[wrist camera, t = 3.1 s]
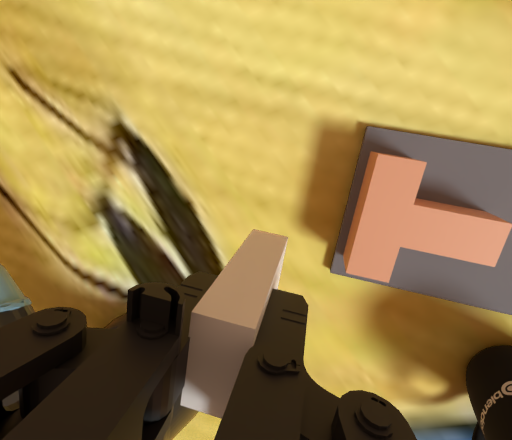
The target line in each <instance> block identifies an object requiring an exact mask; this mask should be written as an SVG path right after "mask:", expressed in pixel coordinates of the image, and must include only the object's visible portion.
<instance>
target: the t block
mask: <svg viewBox="0 0 512 440" xmlns="http://www.w3.org/2000/svg"><path fill="white" fill-rule="evenodd" d="M426 164H427V162H424V161H420V160H416V159H412V158H406V157H401V156H395V155H389V154H383V153H378V152H372V151H371V152H370V155H369V159H368V163H367V167H366V171H365V174H364V178H363V182H362V186H361V190H360V193H359V197H358V201H357V205H356V208H355V212H354V216H353V220H352V224H351V227H350V231H349V235H348V239H347V243H346V246H345V250H344V254H343V259H344V265H345V271H346V273H348V274H352V275H357V276H361V277H365V278H369V279H374V280H378V281H382V282H387V283H389V280H390V277H391V274H392V271H393V268H394V265H395V261H396V258H397V255H398V252H399V249H400V247H403V248H408V249H413V250H417V251H422V252H427V253H431V254H436V255H441V256H445V257H450V258H454V259H459V260H464V261H468V262H473V263H478V264H482V265H487V266H492V267H495V266H496V263H497V261H498V258H499V256H500V254H501V251H502V249H503V247H504V244H505V242H506V239H507V237H508V235H509V232H510V230H511V228H512V223H509V222H507V221H505V220H503V219H501V218H499V217H497V216H495V215H492V214H490V213H488V212H486V211H480V210H475V209H470V208H465V207H460V206H454V205H449V204H444V203H439V202H434V201H428V200H423V199H418V198H416V195H417V192H418V189H419V186H420V183H421V180H422V177H423V173H424V170H425V167H426Z"/></svg>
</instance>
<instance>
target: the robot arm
mask: <svg viewBox="0 0 512 440" xmlns="http://www.w3.org/2000/svg"><path fill="white" fill-rule="evenodd" d="M287 240H288V237H286V236H281V235H277V234H272V233H268V232H264V231H259V230H255V229H253V230H252V232H251V233H250V234H249V236H248V237H247V238H246V240H245V241H244V242H243V244H242V245H241V246H240V248H239V249H238V250H237V252H236V253H235V254H234V256H233V257H232V258H231V260H230V261H229V262H228V264H227V265H226V266H225V268H224V269H223V270H222V272H221V273H220V274H219V276H217V275H213V274H209V273H205V272H201V271H200V272H197V273H195V274H192V275H190V276H188V277H187V278H186V279H185V280H184V281H183V282H182V283H181V285H179V286H178V287H176V286H173V285H171V284H168V283H161V282H150V283H143V284H139V285H136V286H134V287H132V288H130V289H129V290H128V300H127V314H124V315H122V316H120V317H118V318H116V319H115V320H113V321H112V322H111V323H110V324H109V325H108V326H106V327H105V328H104V329H103V328H87V322H86V316H85V315H84V314H83V313H82V312H81V311H80V310H76V309H73V308H67V307H56V308H49V309H44V310H41V311H38V312H35V311H34V310H33V308H32V306H31V305H30V304H31V303H32V302H31V301H30V298H28V297H25V296H24V294H23V293H22V292H21V290H20V289H19V287H18V286H17V284H16V283H15V281H14V280H13V278H12V277H11V276H10V274H9V273H8V271H7V270H6V269H5V267H4V266H3V265H1V264H0V440H172V439H173V438H174V437H175V436H176V435H177V434H178V433H179V432H180V431H181V430H182V429H183V428H184V427H185V426H186V425H187V424H188V423H189V422H190V421H191V420H192V419H193V418H194V417H195V415H196V414H197V413H198V411H200V412H203V413H206V414H209V415H212V416H215V417H218V418H222V420H221V423H220V425H219V428H218V431H217V434H216V436H215V439H214V440H417V439H416V437H415V435H414V433H413V431H412V429H411V428H410V426H409V424H408V422H407V421H406V419H405V418H404V417H403V415H402V414H401V413H400V411H399V410H398V409H397V408H395V407H394V406H393V405H392V404H391V403H390V402H388V401H387V400H385V399H383V398H382V397H380V396H378V395H376V394H374V393H370V392H366V391H362V390H358V391H349V392H348V393H346V394H344V395H342V397H341V399H340V398H338V397H337V396H335V395H333V394H331V393H330V392H328V391H326V390H325V389H323V388H322V387H320V386H319V385H318V384H317V383H316V382H315V381H314V380H313V379H311V377H310V376H309V374H308V373H307V371H306V369H305V366H304V361H303V356H304V346H305V335H306V324H307V314H308V304H307V303H306V301H305V299H304V297H303V296H301V295H297V294H293V293H289V292H285V291H281V290H277V289H278V284H279V279H280V274H281V269H282V265H283V260H284V255H285V250H286V245H287Z"/></svg>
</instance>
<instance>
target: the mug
mask: <svg viewBox="0 0 512 440" xmlns="http://www.w3.org/2000/svg"><path fill="white" fill-rule="evenodd" d="M466 386H467V390H468V394H469V398H470V401H471V404H472V407H473V410H474V413H475V415H476V418H477V421H478V422H477V424H476V427H475V429H474V432H473V436H472V440H512V346H494V347H490V348H487V349H485V350H483V351H481V352H479V353H478V354H477V355H475V356H474V357H473V358H472V360H471V361H470V363H469V365H468V367H467V371H466Z"/></svg>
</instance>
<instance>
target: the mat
mask: <svg viewBox="0 0 512 440" xmlns="http://www.w3.org/2000/svg"><path fill="white" fill-rule="evenodd" d="M371 151H372V152H378V153H383V154H389V155H395V156H401V157H406V158H412V159H416V160H420V161H424V162H427V164H426V167H425V170H424V173H423V177H422V180H421V183H420V186H419V189H418V192H417V195H416V198H418V199H423V200H428V201H434V202H439V203H444V204H449V205H454V206H460V207H465V208H470V209H475V210H480V211H486V212H488V213H490V214H492V215H495V216H497V217H499V218H501V219H503V220H505V221H507V222H509V223H512V150H511V149H504V148H498V147H492V146H486V145H480V144H474V143H468V142H462V141H455V140H449V139H443V138H437V137H431V136H425V135H419V134H413V133H406V132H400V131H394V130H388V129H382V128H376V127H370V126H367V127H366V131H365V135H364V139H363V143H362V147H361V151H360V155H359V158H358V162H357V166H356V170H355V174H354V178H353V182H352V186H351V190H350V194H349V198H348V202H347V206H346V209H345V213H344V217H343V221H342V225H341V229H340V233H339V237H338V241H337V245H336V249H335V253H334V257H333V261H332V264H331V268H330V273H334V274H338V275H343V276H347V277H351V278H355V279H360V280H364V281H368V282H372V283H377V284H381V285H385V286H389V287H394V288H398V289H402V290H407V291H411V292H415V293H419V294H424V295H428V296H432V297H436V298H441V299H445V300H449V301H454V302H458V303H462V304H466V305H471V306H475V307H479V308H483V309H488V310H492V311H496V312H500V313H505V314H509V315H512V228H511V230H510V232H509V235H508V237H507V239H506V242H505V244H504V247H503V249H502V251H501V254H500V256H499V258H498V261H497V263H496V266H495V267H492V266H487V265H482V264H478V263H473V262H468V261H464V260H459V259H454V258H450V257H445V256H441V255H436V254H431V253H427V252H422V251H417V250H413V249H408V248H403V247H400V249H399V252H398V255H397V258H396V261H395V265H394V268H393V271H392V274H391V277H390V280H389V283H387V282H382V281H378V280H374V279H369V278H365V277H361V276H357V275H352V274H348V273H346V271H345V265H344V259H343V254H344V250H345V246H346V243H347V239H348V235H349V231H350V227H351V224H352V220H353V216H354V212H355V208H356V205H357V201H358V197H359V193H360V190H361V186H362V182H363V178H364V174H365V171H366V167H367V163H368V159H369V155H370V152H371Z"/></svg>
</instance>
